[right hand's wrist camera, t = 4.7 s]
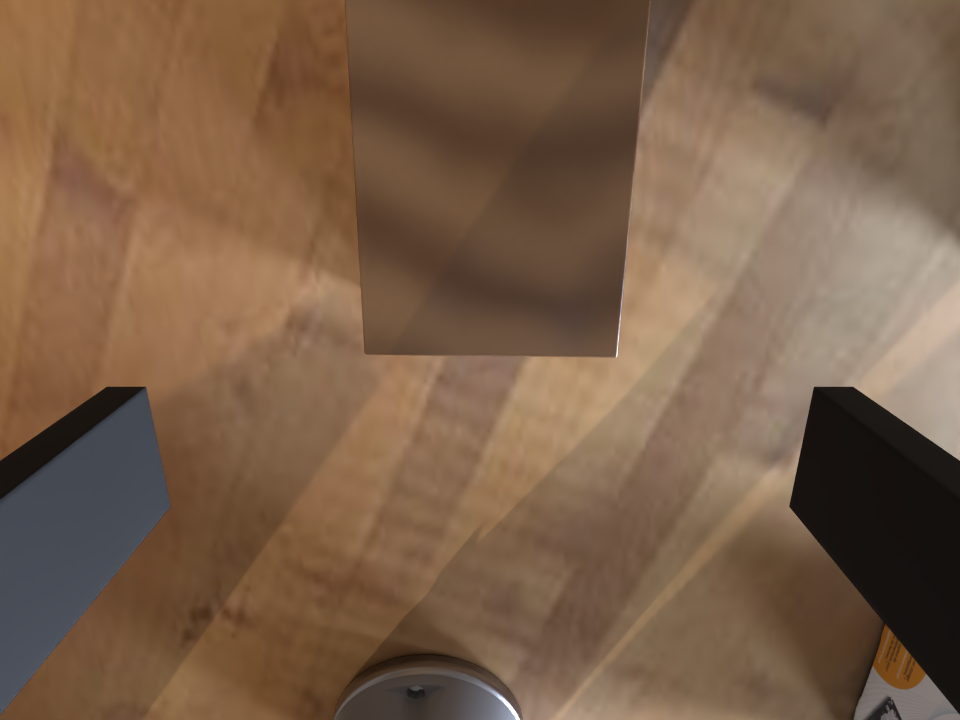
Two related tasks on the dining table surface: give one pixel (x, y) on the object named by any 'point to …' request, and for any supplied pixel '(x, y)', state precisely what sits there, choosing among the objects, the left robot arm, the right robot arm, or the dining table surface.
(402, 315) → the cabinet
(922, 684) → the hard drive box
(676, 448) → the dining table surface
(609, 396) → the dining table surface
